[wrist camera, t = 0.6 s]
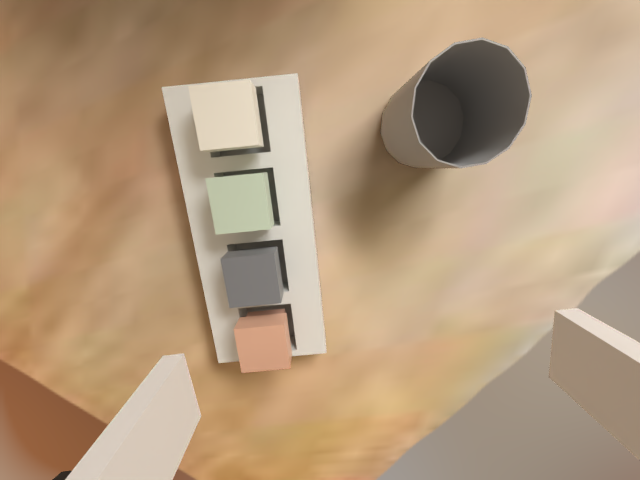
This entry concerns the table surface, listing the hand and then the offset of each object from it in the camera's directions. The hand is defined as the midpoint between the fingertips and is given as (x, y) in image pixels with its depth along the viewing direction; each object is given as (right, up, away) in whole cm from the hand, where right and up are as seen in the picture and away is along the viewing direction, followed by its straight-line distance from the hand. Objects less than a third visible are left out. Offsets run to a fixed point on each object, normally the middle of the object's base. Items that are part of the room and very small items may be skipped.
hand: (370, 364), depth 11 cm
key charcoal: (-8, +2, +20) cm, 22 cm away
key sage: (-9, +8, +18) cm, 22 cm away
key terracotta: (-7, -5, +22) cm, 23 cm away
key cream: (-9, +15, +17) cm, 24 cm away
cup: (+9, +16, +20) cm, 27 cm away
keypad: (-8, +6, +22) cm, 24 cm away
